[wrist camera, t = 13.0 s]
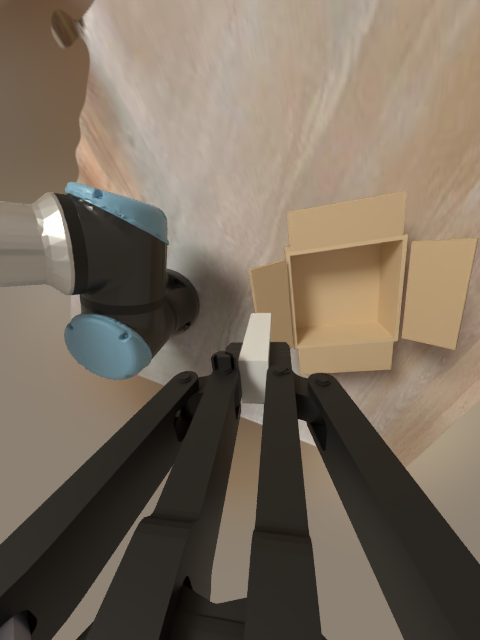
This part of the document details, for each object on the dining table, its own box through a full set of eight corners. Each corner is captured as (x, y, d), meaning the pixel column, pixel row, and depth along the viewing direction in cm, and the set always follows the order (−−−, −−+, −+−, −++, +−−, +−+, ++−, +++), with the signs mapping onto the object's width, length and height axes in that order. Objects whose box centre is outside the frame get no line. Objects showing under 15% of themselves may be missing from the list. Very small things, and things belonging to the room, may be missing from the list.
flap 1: (290, 345, 45) (262, 360, 41) (282, 259, 39) (248, 269, 35) (293, 346, 44) (264, 362, 41) (285, 259, 38) (251, 270, 35)
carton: (293, 353, 55) (296, 374, 47) (280, 213, 44) (282, 212, 36) (377, 347, 51) (395, 369, 44) (387, 194, 40) (412, 189, 33)
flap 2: (401, 338, 41) (454, 349, 36) (411, 241, 35) (477, 238, 30) (403, 336, 41) (456, 348, 36) (413, 241, 35) (478, 238, 30)
